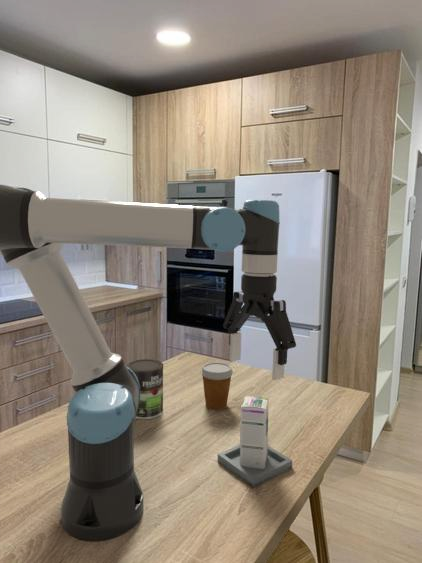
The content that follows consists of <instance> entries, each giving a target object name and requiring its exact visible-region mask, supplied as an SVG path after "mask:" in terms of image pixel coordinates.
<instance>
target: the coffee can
mask: <svg viewBox="0 0 422 563" xmlns="http://www.w3.org/2000/svg"><path fill="white" fill-rule="evenodd" d="M126 366H127V367H128V368H130V369H131V370H132V371H133V372H134V373H135V375H136V376H137V379H138V381H139V385H140V401H139V404H138V409H137V414H136V419H135V420H141V421H142V420H146V421H147V420H151V419H155V418H157V417H160V416H161V415H162V414H163V412H164V405H163V404H164V363H163V362H162V361H159V360H156V359H151V358H149V359H148V358H147V359H138V360H137V359H136V360H132V361H130V362H129V363H127V365H126Z"/></svg>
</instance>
